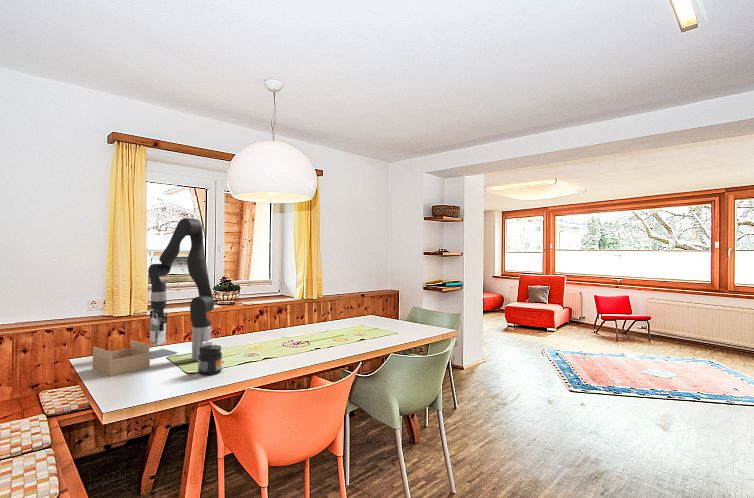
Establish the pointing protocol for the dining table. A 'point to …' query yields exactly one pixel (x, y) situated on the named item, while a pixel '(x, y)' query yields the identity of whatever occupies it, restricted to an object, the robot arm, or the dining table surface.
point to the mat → (160, 353)
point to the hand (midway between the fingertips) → (158, 330)
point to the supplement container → (209, 360)
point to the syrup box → (157, 333)
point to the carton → (121, 359)
